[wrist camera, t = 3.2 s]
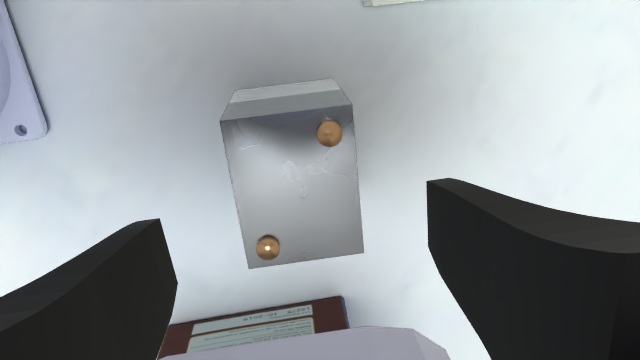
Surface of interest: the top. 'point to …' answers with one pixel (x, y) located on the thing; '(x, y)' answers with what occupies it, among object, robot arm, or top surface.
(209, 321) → the protein box
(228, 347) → the robot arm
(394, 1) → the sage stand
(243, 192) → the housing
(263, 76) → the top surface
